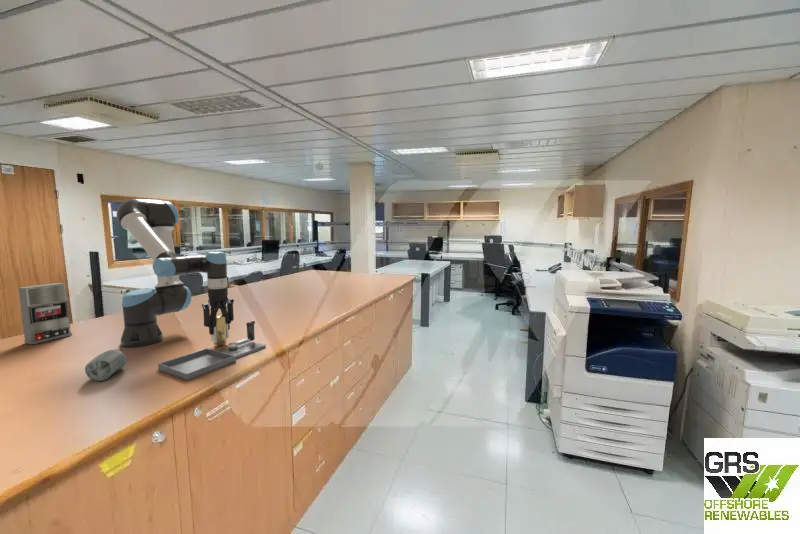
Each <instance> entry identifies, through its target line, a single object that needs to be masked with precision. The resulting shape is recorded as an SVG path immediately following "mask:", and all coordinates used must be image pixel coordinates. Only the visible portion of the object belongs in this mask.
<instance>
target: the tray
mask: <svg viewBox="0 0 800 534" xmlns="http://www.w3.org/2000/svg"><path fill="white" fill-rule="evenodd" d="M236 362H237V359H236V356H234V355H231V354H227V353H224V352H220V351H217V350H216V349H213V348H209V347H207V348H206V347H205V348H202V349H200V350H196V351H193V352H191V353H188V354H187V353H186V354H184V355H181V356H179V357H175V358H172V359H168V360H165V361H163V362H159V363H157V366H158V371H159V372H162V373H164V374H167V375H170V376H173V377H175V378H178V379H181V380H183V381H186V382H189V381H191V380H193V379H197V378H199V377H201V375H202V376H204V375H206V373H207V374H209V373H212V372H214V371H216V370H219V369H222V368H224V367H227V366H229V365H232V364H234V363H236ZM203 374H204V375H203Z"/></svg>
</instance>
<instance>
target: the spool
mask: <svg viewBox="0 0 800 534" xmlns="http://www.w3.org/2000/svg"><path fill="white" fill-rule="evenodd" d="M126 364H127V357H126V355H125V353H124V352H123V351H120V350H118V349H109V350H105V351H104V352H102V353H100V354H98V355H96V356H95V357H94V358H92V359H91V360H90V361H89V362H88V363H87V364H86V365H85V367H84V372H85V374H86V376H87V377H88V378H89V379H91V380H92V381H96V382H103V381H106V380H108V379H109V378H110V377H111V376H112V375H113V374H115V373H116V372H118V371H119V370H121V369H122V368H124V366H125V365H126Z"/></svg>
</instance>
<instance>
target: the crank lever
mask: <svg viewBox="0 0 800 534" xmlns="http://www.w3.org/2000/svg"><path fill="white" fill-rule="evenodd" d="M255 324H256V321H255V320H252V321H249V322H246V323H245V325H246V336H247V337H246V338H244V339H240V340H238V341H234V342H230V343H228V347H229V349H230V350H233V349H237V346H238V345H241V344H244V343H247V342H250V341H252V342H254V341H255V338H256V336H255Z"/></svg>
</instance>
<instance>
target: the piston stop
mask: <svg viewBox="0 0 800 534" xmlns="http://www.w3.org/2000/svg"><path fill="white" fill-rule="evenodd" d="M214 327H216V334H217V342H213V345H214V346H221V345H225V344H227V339H228V338H226V316H224V315H222V314H220V315H219V314H218V315H216V320H215V325H214Z"/></svg>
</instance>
